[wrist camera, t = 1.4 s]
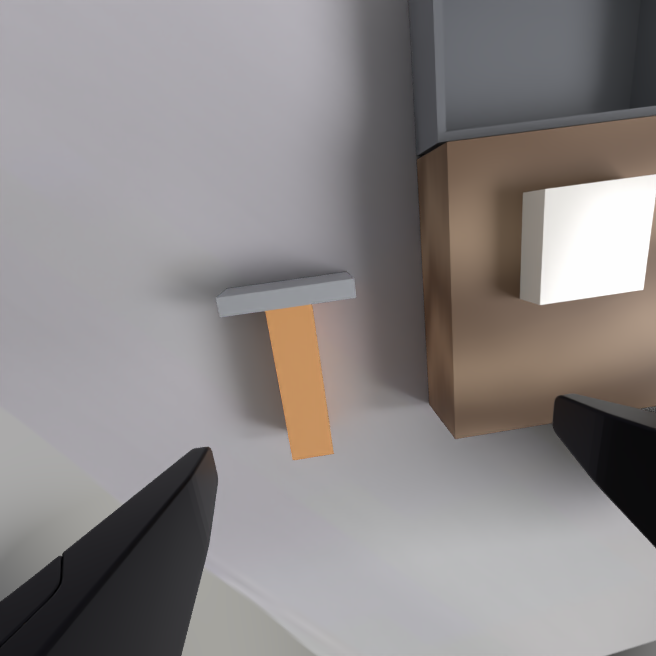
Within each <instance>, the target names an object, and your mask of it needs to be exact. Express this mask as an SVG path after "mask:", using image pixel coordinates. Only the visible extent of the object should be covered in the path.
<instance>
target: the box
mask: <svg viewBox="0 0 656 656" xmlns="http://www.w3.org/2000/svg"><path fill="white" fill-rule="evenodd" d="M409 18H410V37H411V57H412V76H413V96H414V116H415V135H416V155H417V156H419V155H426V154H428V153H429V152H431V151H433V150H434V149H436V148H438V147H439V146H441V145H443V144H445V143H446V142H451V141H459V140H467V139H475V138H483V137H491V136H499V135H507V134H515V133H523V132H531V131H539V130H547V129H555V128H563V127H571V126H579V125H586V124H594V123H602V122H610V121H618V120H626V119H634V118H642V117H650V116H656V0H409Z"/></svg>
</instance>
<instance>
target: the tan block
mask: <svg viewBox="0 0 656 656" xmlns="http://www.w3.org/2000/svg"><path fill="white" fill-rule="evenodd" d="M417 174H418V194H419V214H420V233H421V253H422V272H423V292H424V311H425V331H426V351H427V370H428V390H429V405H430V406H431V407H432V409H433V410H434V411H435V413H436V414H437V415H438V417H439V418H440V419H441V421H442V422H443V423H444V425H445V426H446V427H447V429H448V430H449V431H450V433H451V434H452V435H453V437H454V438H455V439H459V438H465V437H471V436H477V435H483V434H489V433H495V432H501V431H507V430H513V429H520V428H526V427H532V426H538V425H544V424H550V423H552V420H553V409H554V400H555V398H556V397H557V396H559V395H564V394H578V395H582V396H587V397H591V398H595V399H600V400H604V401H608V402H612V403H617V404H621V405H625V406H630V407H634V408H638V409H641V408H647V407H653V406H656V197H655V205H654V212H653V220H652V228H651V235H650V243H649V250H648V258H647V266H646V273H645V281H644V288H643V290H638V291H631V292H625V293H618V294H611V295H605V296H598V297H591V298H584V299H578V300H571V301H564V302H558V303H551V304H544V305H538V304H535V303H532V302H528V301H525V300H522V299H520V275H521V241H522V207H523V193H524V192H530V191H536V190H543V189H549V188H557V187H564V186H572V185H579V184H587V183H594V182H602V181H609V180H617V179H624V178H632V177H639V176H647V175H654V174H656V116H650V117H642V118H634V119H626V120H618V121H610V122H602V123H594V124H586V125H579V126H571V127H563V128H555V129H547V130H539V131H531V132H523V133H515V134H507V135H499V136H491V137H483V138H475V139H467V140H459V141H451V142H446V143H445V144H443V145H441V146H439V147H438V148H436V149H434V150H433V151H431V152H429V153H428V154H426V155H424V156H422V157H421V158H419V159H417Z"/></svg>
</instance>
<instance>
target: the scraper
mask: <svg viewBox="0 0 656 656" xmlns="http://www.w3.org/2000/svg"><path fill="white" fill-rule="evenodd" d="M352 298H356V290H355V281H354V278H353V277H352V276H351V275H350V274H349V273H348V272H341V273H334V274H327V275H320V276H313V277H306V278H298V279H291V280H284V281H277V282H270V283H263V284H256V285H249V286H242V287H235V288H227V289H226V290H225V291H223V292H222V293H221V294H220V295H219V296H217V297H216V298H215V299H216V303H217V308H218V312H219V317H227V316H234V315H241V314H247V313H254V312H261V311H265V313H266V318H267V324H268V329H269V335H270V340H271V345H272V351H273V356H274V361H275V367H276V372H277V378H278V383H279V388H280V394H281V399H282V404H283V410H284V415H285V421H286V426H287V431H288V437H289V442H290V448H291V453H292V458H293V460H298V459H305V458H311V457H317V456H323V455H329V454H334V452H333V446H332V439H331V432H330V425H329V418H328V411H327V404H326V397H325V390H324V384H323V377H322V370H321V363H320V356H319V349H318V342H317V335H316V329H315V322H314V315H313V308H312V304H317V303H324V302H331V301H338V300H345V299H352Z"/></svg>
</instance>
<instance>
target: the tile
mask: <svg viewBox="0 0 656 656" xmlns="http://www.w3.org/2000/svg"><path fill="white" fill-rule="evenodd" d="M655 197H656V174H654V175H647V176H639V177H632V178H624V179H617V180H609V181H602V182H594V183H587V184H579V185H572V186H564V187H557V188H549V189H543V190H536V191H530V192H524V193H523V207H522V241H521V275H520V299H522V300H525V301H528V302H532V303H535V304H538V305H544V304H551V303H558V302H564V301H571V300H578V299H584V298H591V297H598V296H605V295H611V294H618V293H625V292H631V291H638V290H643V288H644V281H645V273H646V266H647V258H648V250H649V243H650V235H651V228H652V220H653V212H654V205H655Z"/></svg>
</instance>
